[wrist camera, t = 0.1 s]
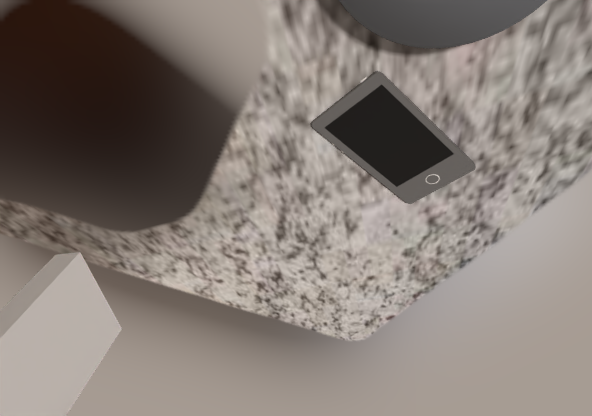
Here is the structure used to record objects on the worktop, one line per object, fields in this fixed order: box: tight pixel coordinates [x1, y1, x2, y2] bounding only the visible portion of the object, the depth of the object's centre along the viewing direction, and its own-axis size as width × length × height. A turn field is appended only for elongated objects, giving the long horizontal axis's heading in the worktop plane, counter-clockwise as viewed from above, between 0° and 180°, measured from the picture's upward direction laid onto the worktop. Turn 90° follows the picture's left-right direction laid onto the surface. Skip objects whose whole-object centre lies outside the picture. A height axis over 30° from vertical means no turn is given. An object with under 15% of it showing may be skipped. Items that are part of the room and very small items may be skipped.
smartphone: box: [312, 71, 475, 204], centre depth 44 cm, size 15×8×1 cm, turn 47°
